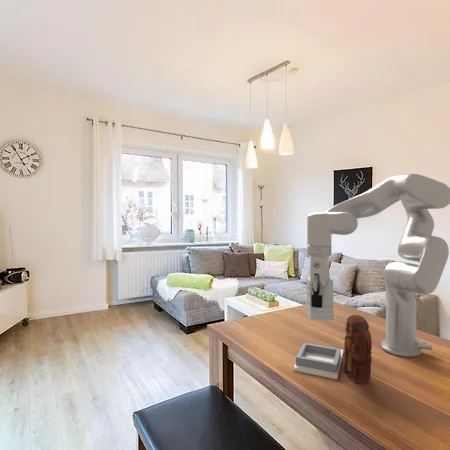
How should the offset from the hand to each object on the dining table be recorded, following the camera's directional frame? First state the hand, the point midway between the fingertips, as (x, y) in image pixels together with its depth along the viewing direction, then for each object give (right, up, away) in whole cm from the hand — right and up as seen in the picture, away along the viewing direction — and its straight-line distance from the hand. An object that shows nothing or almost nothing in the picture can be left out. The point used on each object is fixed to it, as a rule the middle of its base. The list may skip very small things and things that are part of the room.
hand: (319, 303), depth 102 cm
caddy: (+1, -20, +2) cm, 20 cm away
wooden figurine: (+9, -20, -7) cm, 23 cm away
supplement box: (0, -5, 0) cm, 5 cm away
